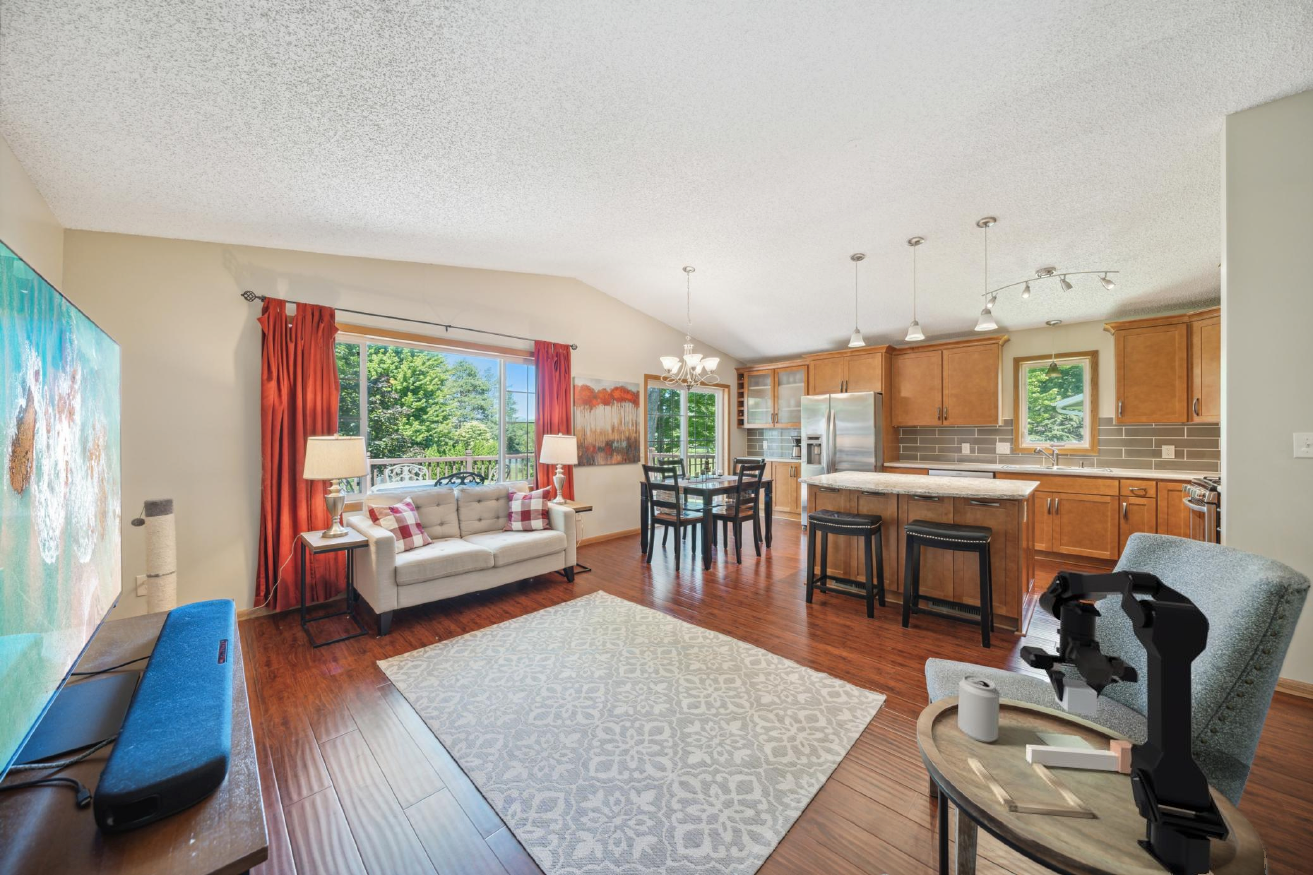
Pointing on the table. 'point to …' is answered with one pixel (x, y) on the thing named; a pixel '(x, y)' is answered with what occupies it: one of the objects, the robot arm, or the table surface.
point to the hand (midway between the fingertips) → (1075, 703)
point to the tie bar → (1083, 757)
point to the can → (978, 708)
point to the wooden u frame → (1071, 810)
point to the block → (1078, 697)
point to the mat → (1064, 741)
